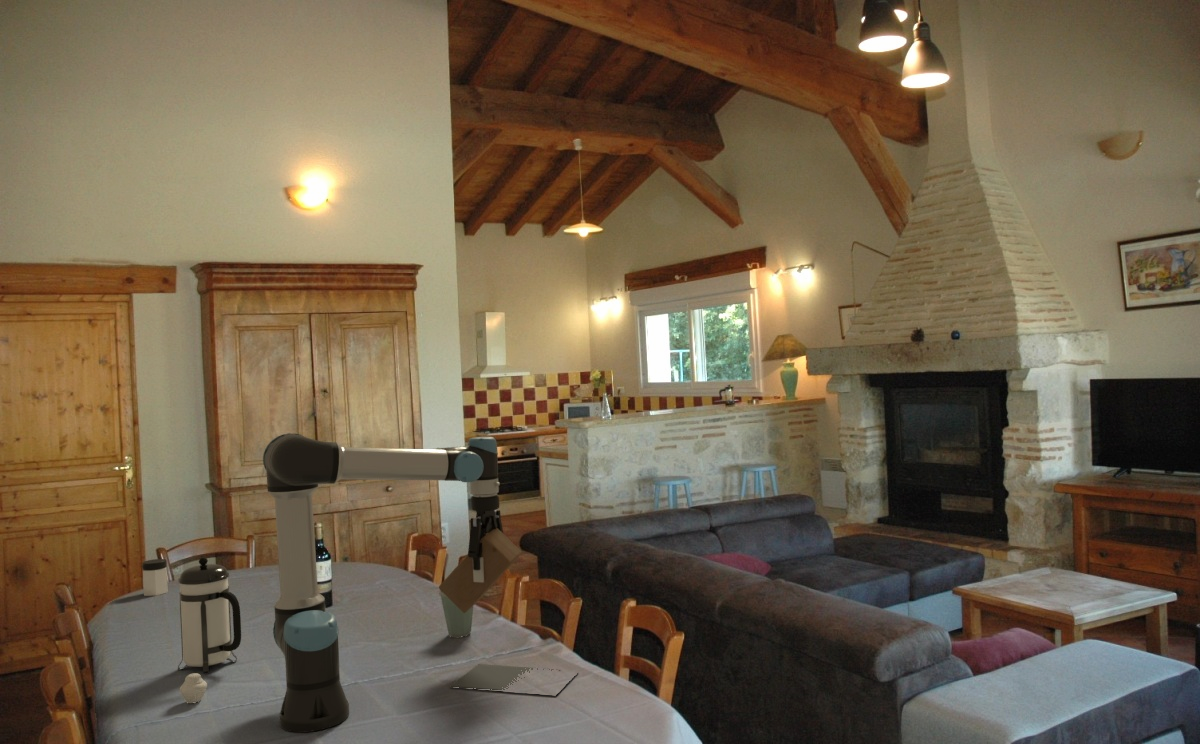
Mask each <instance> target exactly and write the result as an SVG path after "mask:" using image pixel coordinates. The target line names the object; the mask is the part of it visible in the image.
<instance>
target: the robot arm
mask: <svg viewBox="0 0 1200 744" xmlns="http://www.w3.org/2000/svg"><path fill="white" fill-rule="evenodd" d="M498 455H499V453H498V445H497V440H496V438H495V437H493V436H476V437H470V438H469V439H468V443H467V445H465V446H451V447H448V446H447V447H437V448H431V449H419V448H418V449H417V448H416V449H415V448H392V447H391V448H387V447H386V448H385V447H383V448H382V447H378V448H377V447H359V446H358V447H355V446H353V447H352V446H341V444H340V443H339V442H336V441H335V442H332V441H331V442H330V441H321V440H317V439H313V438H309V437H306V436H304V435H302V434H299V433H291V432H288V433H283V434H281V435H278V436H276V437H275V438H273V439H272V440H271V441H269V443H268V444H267V445H266V447H265V449H264V451H263V456H262V463H263V466H264V469H265V471H266V486H267V493H268V494H269V495H270V496H272V497H273V498H274V505H275V506H274V508H275V524H276V525H275V526H276V541H277V554H278V555H277V557H278V559H277V560H278V574H279V575H278V576H279V592H280V597H279V598H278V600H276V602H275V603H274V619H275V620H274V623H273V628H272V633H273V634H272V635H273V638H274V641H275V644H276V645H277V647H278V648H279V649H280V651H281V653H282V654H283V656H284V659H285V660H284V661H285V678H286V680H285V681H286V691H285V695H284V698H283V700H282V705H281V708H280V712H279V727H281V729H283V730H284V731H288V732H293V733H307V732H308V733H309V732H316V731H322V730H325V729H330V728H331V727H332V728H333V727H334V726H337V725H338V724H341V723H342V722H344V721H346V720H347V718H349V715H350V703H349V702H348V700H347V697H346V694H345V691H344V688H343V686H342V684H341V680H340V679H341V676H340V655H339V653H340V652H339V630H340V629H339V626H338V620H337V618H336V617H335V615H334V614H333V613H331V612H329V611H327V610H326V600H325V599H326V598H325V596H323V595H322V594H321V593H320V592H319V589H318V571H317V558H316V557H317V555H316V537H315V523H314V521H315V520H314V507H313V506H314V503H313V495H314V493H315V492H316V491H317V490H318V489H319V485H323V484H326V485H327V484H331V485H332V484H334V485H335V484H337V483H338V482H339V481H340V480H361V481H362V480H365V481H366V480H369V481H370V480H373V481H375V480H376V481H378V480H379V481H380V480H381V481H382V480H385V481H444V482H445V481H452V482H461V483H469V487H470V491H469V492H470V494H471V495H472V496H471V497H470V507H471V510H472V511H475V512H476V516H475V518H474V517H471V518H470V520H469V522H470V530H469V531H470V532H469V540H468V541H469V542H468V550H467V551H468V552H467V555H468V556H469V557H470V558H473V580H474V582H484V564H483V557H481V555H482V551H483V550H482V543H480V540H481V539H482V538H483V537H484V536H485V535H487V534H488V533H489V532H491V531H492V530H493V529H496V528H498V529H499V530H500V531H501V532H502V533H503V534H504V535H505V533H504V529H503V523H502V519H501V510H499V508H500V496H499V494H498V493H499V490H500V487H499V486H500V484H501V483H500V482H499V466H498V465H499V463H498V457H499V456H498Z"/></svg>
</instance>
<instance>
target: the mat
mask: <svg viewBox="0 0 1200 744" xmlns="http://www.w3.org/2000/svg"><path fill="white" fill-rule="evenodd" d="M525 668H526V669H525ZM530 668H531V670H533V668H534V667H527V666H526V667H525V666H513V665H501V664H500V665H498V664H487V663H486V664H484V663H478V664H477V665H475V666H474V667H473V668H472V669H469V671H467V672H466V673H465V674H463V675H462V676H461V677H460V678H458V679H457V680H456V681H454V682H453V683H452V684H451V685H450V686H449V687H459V688H473V689H474V688H476V689H490V690H491V689H492V690H502V689H503V690H505V689H504V688H506V687H508V686H509V683H510V685H511V684H512V683H514V682H513V681H515V682H517V681H516V680H517V677H519V676H518V674H520V675H522V672H523V674H524V673H525V671H526V670H527V672H528V671H529V669H530ZM536 668H537V670H538V668H539V667H536ZM544 669H545V668H543V670H544ZM548 669H549V670H550V669H551V671H552V670H554V669H555V668H548ZM521 670H522V671H521ZM556 670H558V669H556ZM529 673H530V671H529ZM514 678H515V679H516V680H515V679H514ZM519 678H520V677H519ZM524 678H525V677H524ZM521 679H522V678H521ZM512 680H513V681H512ZM518 681H519V680H518ZM511 682H512V683H511ZM507 685H508V686H507ZM512 685H513V684H512ZM502 687H503V688H502ZM508 688H509V687H508ZM508 688H506V689H508Z"/></svg>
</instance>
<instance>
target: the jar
mask: <svg viewBox="0 0 1200 744" xmlns="http://www.w3.org/2000/svg"><path fill="white" fill-rule="evenodd" d="M167 564H168V563H167V559H165V558H155V559H150V560H149V559H148V560H145V561H143V562H142V563H141V569H142V587H143V595H144V597H152V596H154V597H157V596H160V595H163V594H167V593H168V572H167V571H168V569H167V566H168V565H167Z"/></svg>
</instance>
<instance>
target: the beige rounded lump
mask: <svg viewBox="0 0 1200 744" xmlns="http://www.w3.org/2000/svg"><path fill="white" fill-rule="evenodd" d="M207 688H208V683H207V682H206V681H205V680H204V679H203V678H202V675H201V674H200V673H195V672H194V673H193V672H192V673H190V674H187V676H186V677H185V679H184V682H183V683H182V685H181V686H180V688H179V692H180V694H181V696H182V698H183V699H184V701H185V702H186V703H187V702H188V703H193V702H197V701H200V700H201V701H202V700H203V698H204V697H205V693H206V691H207ZM201 701H200V702H201ZM188 703H187V704H188Z"/></svg>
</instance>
